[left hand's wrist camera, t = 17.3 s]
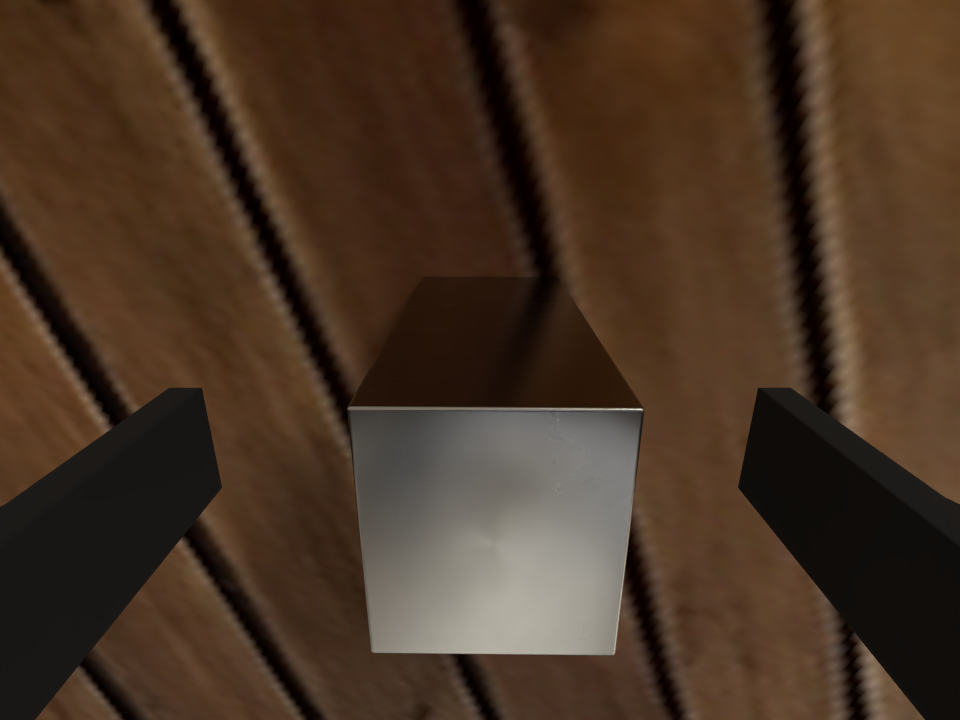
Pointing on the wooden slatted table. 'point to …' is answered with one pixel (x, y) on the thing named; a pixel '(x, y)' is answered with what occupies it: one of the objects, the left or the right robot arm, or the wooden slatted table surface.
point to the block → (494, 474)
